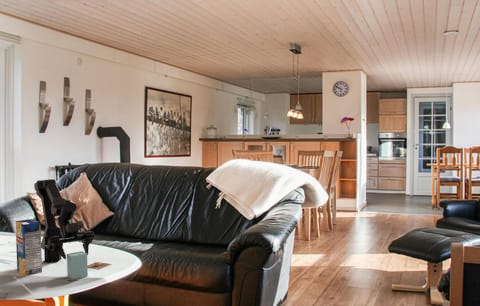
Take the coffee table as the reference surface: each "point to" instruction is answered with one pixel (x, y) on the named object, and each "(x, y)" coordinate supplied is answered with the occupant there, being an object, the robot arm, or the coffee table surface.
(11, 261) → the coffee table surface
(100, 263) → the peach flattened ellipsoid
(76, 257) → the pale teal block
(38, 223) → the beverage box
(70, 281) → the mat
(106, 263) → the coaster
